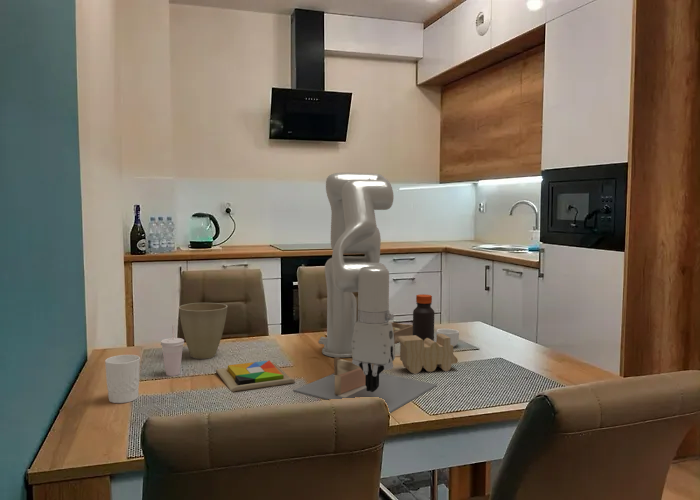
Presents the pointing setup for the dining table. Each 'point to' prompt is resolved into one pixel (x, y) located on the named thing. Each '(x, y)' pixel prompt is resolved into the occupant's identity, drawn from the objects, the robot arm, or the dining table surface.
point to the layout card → (389, 389)
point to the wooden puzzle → (253, 375)
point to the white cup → (122, 378)
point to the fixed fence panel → (344, 366)
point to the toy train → (426, 353)
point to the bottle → (423, 317)
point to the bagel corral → (402, 330)
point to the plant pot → (203, 327)
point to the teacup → (450, 335)
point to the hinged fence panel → (349, 381)
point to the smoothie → (172, 354)
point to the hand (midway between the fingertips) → (372, 389)
